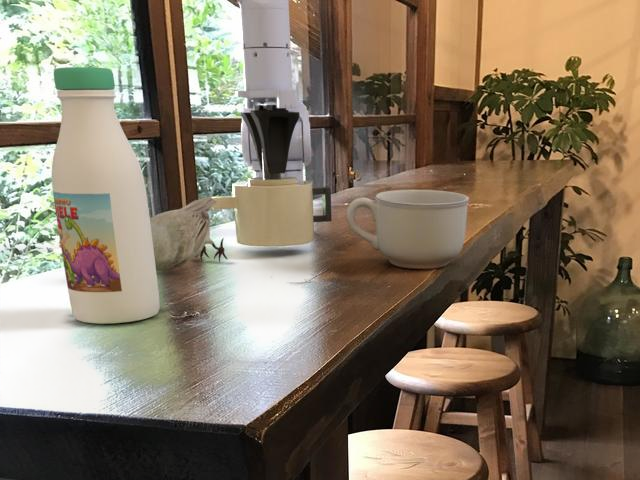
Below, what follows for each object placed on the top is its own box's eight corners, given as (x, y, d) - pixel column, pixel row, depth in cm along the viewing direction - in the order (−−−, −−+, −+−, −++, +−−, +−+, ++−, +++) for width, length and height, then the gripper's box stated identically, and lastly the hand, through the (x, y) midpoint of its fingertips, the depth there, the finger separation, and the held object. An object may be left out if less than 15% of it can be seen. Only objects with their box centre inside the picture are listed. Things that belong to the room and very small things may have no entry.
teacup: (465, 257, 100) (468, 189, 96) (466, 274, 90) (470, 198, 87) (353, 256, 101) (352, 189, 98) (343, 272, 91) (341, 198, 88)
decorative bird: (106, 281, 88) (95, 209, 85) (199, 259, 101) (193, 195, 97) (144, 285, 85) (134, 211, 82) (234, 262, 98) (229, 197, 95)
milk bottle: (133, 302, 78) (103, 70, 70) (177, 315, 73) (150, 67, 65) (57, 316, 73) (15, 68, 65) (99, 330, 68) (58, 64, 60)
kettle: (316, 231, 111) (313, 144, 107) (345, 241, 103) (344, 147, 98) (205, 240, 105) (196, 148, 101) (226, 250, 97) (219, 151, 92)
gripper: (218, 52, 100) (227, 170, 106) (250, 44, 88) (258, 177, 93) (273, 53, 102) (278, 168, 108) (311, 45, 90) (315, 175, 96)
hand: (273, 172), depth 101 cm, fingers closed on kettle, 2 cm apart
